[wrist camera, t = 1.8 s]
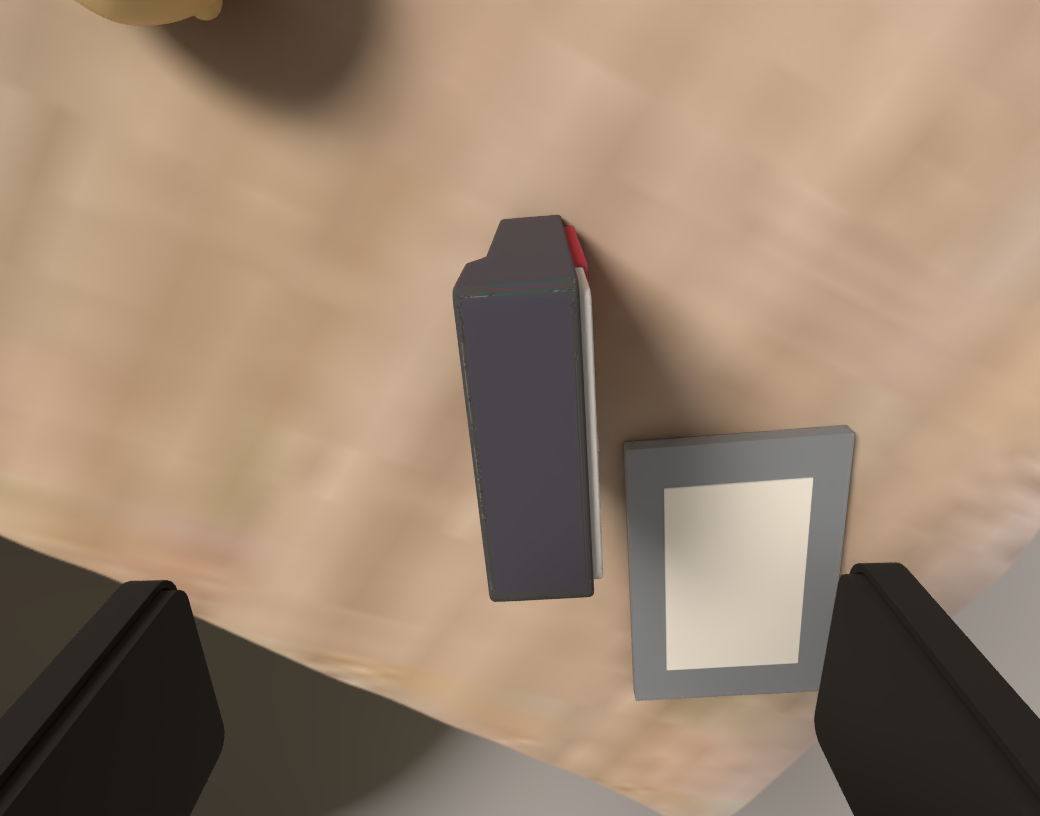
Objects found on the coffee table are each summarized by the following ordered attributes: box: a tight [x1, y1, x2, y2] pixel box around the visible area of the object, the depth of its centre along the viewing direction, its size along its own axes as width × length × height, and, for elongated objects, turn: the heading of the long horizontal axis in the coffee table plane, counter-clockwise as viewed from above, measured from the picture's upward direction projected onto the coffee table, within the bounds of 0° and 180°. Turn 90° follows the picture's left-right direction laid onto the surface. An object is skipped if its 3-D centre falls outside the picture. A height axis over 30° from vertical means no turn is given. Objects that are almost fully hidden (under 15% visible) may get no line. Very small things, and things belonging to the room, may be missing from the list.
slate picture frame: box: [623, 425, 855, 701], centre depth 39 cm, size 12×18×1 cm, turn 6°
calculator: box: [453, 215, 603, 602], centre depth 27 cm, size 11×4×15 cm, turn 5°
